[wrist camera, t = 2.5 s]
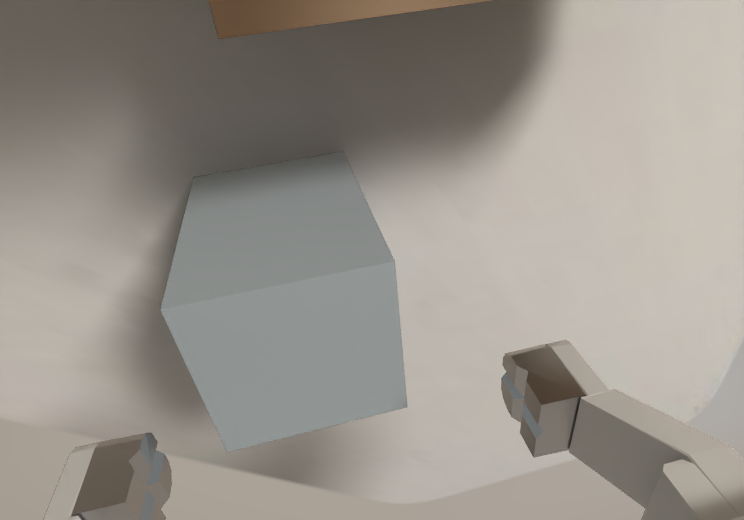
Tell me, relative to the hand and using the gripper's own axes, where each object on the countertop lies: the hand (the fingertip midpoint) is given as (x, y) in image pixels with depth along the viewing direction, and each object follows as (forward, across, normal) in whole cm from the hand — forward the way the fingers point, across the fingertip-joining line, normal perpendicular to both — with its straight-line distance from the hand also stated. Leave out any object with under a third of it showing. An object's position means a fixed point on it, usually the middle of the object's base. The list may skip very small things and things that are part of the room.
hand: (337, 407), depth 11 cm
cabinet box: (+8, +1, -1) cm, 8 cm away
